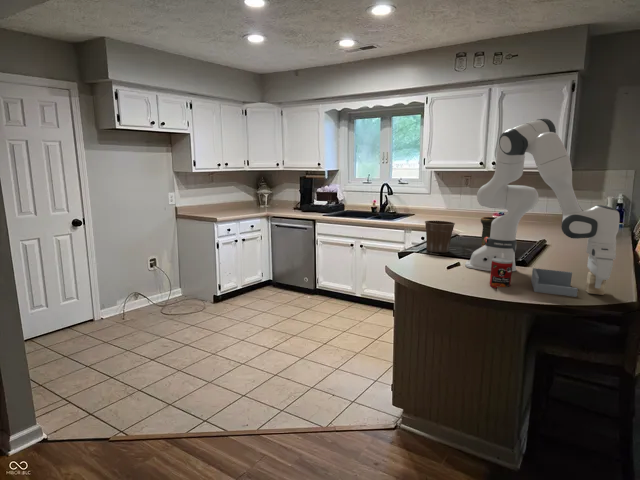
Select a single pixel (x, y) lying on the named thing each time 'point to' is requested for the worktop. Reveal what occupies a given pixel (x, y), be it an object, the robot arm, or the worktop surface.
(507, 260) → the canned food
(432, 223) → the plant pot
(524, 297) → the worktop surface
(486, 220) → the vessel
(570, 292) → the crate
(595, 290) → the birch block
